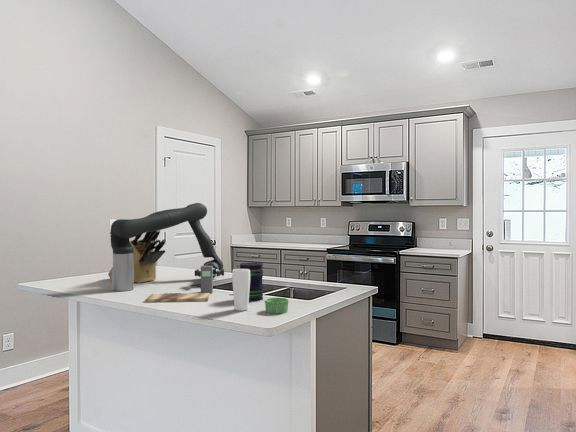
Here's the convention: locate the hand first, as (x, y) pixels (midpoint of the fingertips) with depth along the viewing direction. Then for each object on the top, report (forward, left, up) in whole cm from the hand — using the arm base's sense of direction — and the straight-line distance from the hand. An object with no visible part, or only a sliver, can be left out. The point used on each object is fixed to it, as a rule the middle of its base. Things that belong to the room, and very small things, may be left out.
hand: (208, 274), depth 218 cm
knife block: (-40, +30, -7) cm, 50 cm away
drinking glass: (+16, -48, -7) cm, 51 cm away
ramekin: (+29, -52, -7) cm, 60 cm away
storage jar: (+20, -28, -7) cm, 35 cm away
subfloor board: (-11, -24, -7) cm, 27 cm away
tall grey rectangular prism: (0, -10, -7) cm, 12 cm away
